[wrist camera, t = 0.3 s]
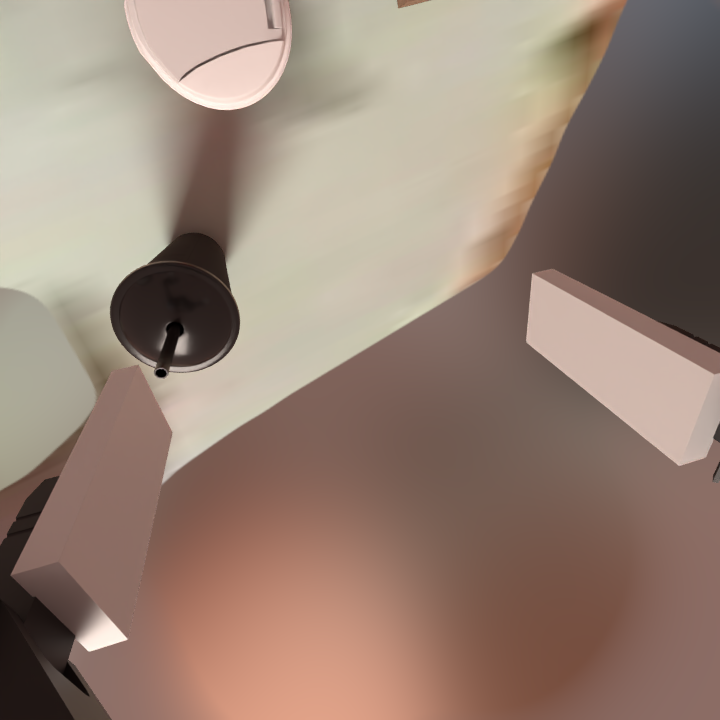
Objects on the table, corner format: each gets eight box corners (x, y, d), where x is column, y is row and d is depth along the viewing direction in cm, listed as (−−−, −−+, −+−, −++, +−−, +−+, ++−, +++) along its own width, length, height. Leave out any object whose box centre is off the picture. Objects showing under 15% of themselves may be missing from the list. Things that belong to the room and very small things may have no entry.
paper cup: (266, -16, 30) (281, -101, 18) (282, 108, 34) (303, 104, 22) (151, -14, 29) (87, -105, 17) (182, 115, 33) (147, 114, 21)
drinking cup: (175, 309, 40) (125, 450, 23) (134, 230, 36) (37, 332, 19) (252, 285, 41) (259, 405, 24) (221, 205, 36) (202, 282, 20)
